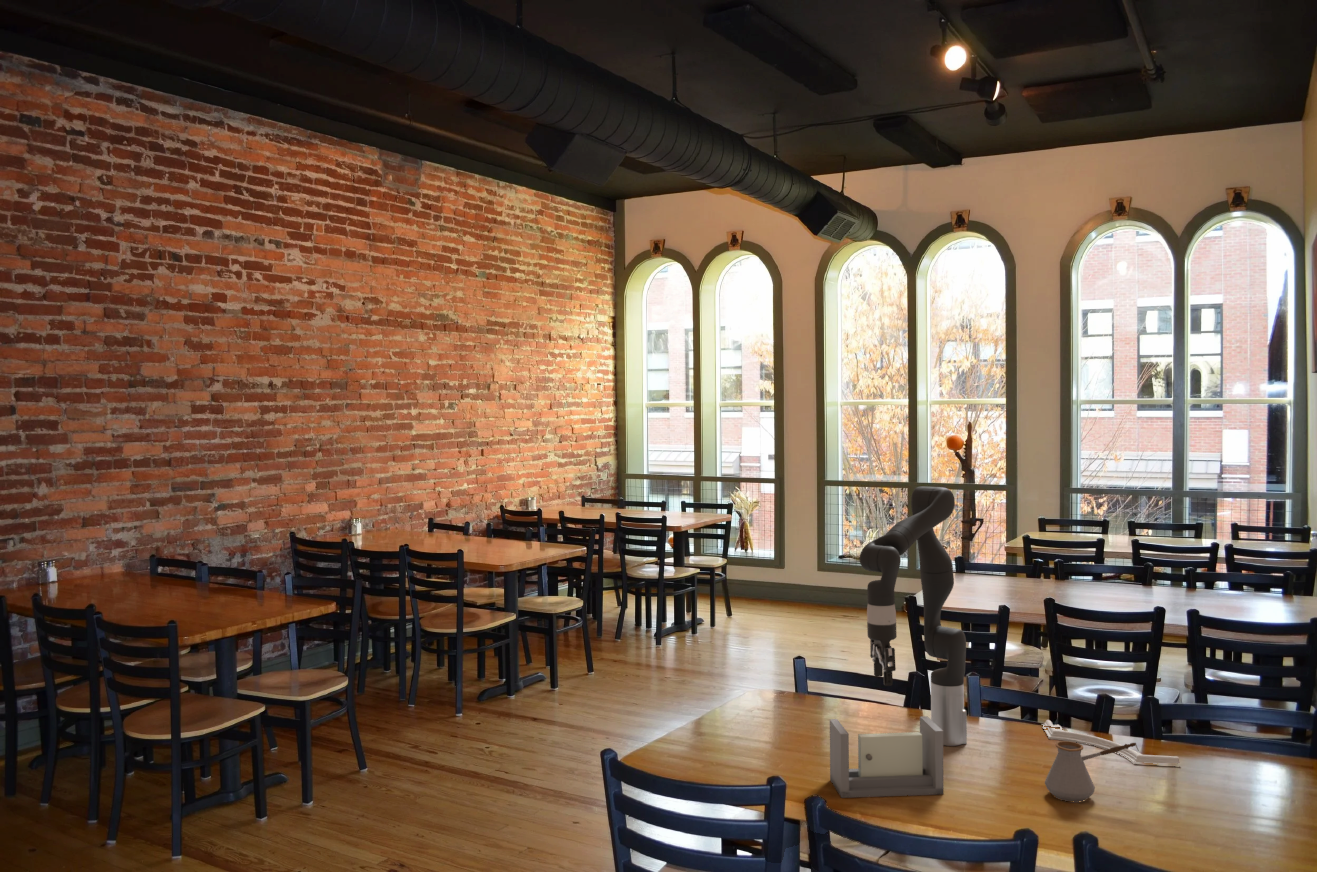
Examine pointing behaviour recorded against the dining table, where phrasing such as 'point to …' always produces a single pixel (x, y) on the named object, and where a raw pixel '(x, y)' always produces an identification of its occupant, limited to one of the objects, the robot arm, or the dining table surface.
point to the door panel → (890, 754)
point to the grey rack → (887, 785)
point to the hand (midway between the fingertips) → (883, 680)
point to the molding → (1104, 745)
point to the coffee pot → (1073, 772)
